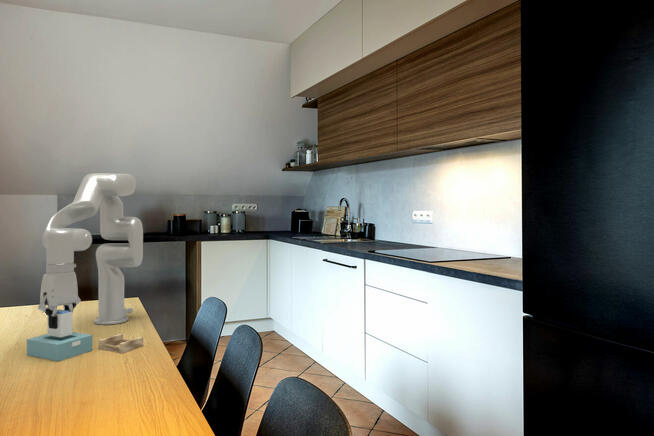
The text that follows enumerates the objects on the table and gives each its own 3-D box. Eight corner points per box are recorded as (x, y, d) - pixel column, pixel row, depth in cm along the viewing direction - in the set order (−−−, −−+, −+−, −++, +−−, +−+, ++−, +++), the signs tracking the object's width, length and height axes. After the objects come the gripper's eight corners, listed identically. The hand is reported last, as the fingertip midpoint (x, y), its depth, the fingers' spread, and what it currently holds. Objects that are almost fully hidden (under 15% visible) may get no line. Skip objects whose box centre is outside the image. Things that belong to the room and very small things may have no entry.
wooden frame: (120, 342, 159) (120, 333, 159) (143, 345, 156) (143, 337, 155) (98, 349, 151) (98, 340, 151) (121, 353, 147) (121, 344, 147)
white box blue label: (59, 332, 150) (59, 308, 150) (72, 334, 148) (72, 310, 148) (47, 335, 147) (47, 311, 146) (60, 337, 144) (60, 312, 144)
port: (62, 345, 156) (62, 330, 156) (92, 350, 150) (92, 335, 150) (26, 355, 145) (26, 339, 145) (58, 361, 139) (58, 344, 139)
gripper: (75, 265, 156) (75, 320, 156) (26, 271, 141) (26, 331, 141) (91, 266, 153) (91, 322, 153) (43, 272, 138) (42, 334, 138)
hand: (60, 326), depth 147 cm, fingers closed on white box blue label, 4 cm apart
